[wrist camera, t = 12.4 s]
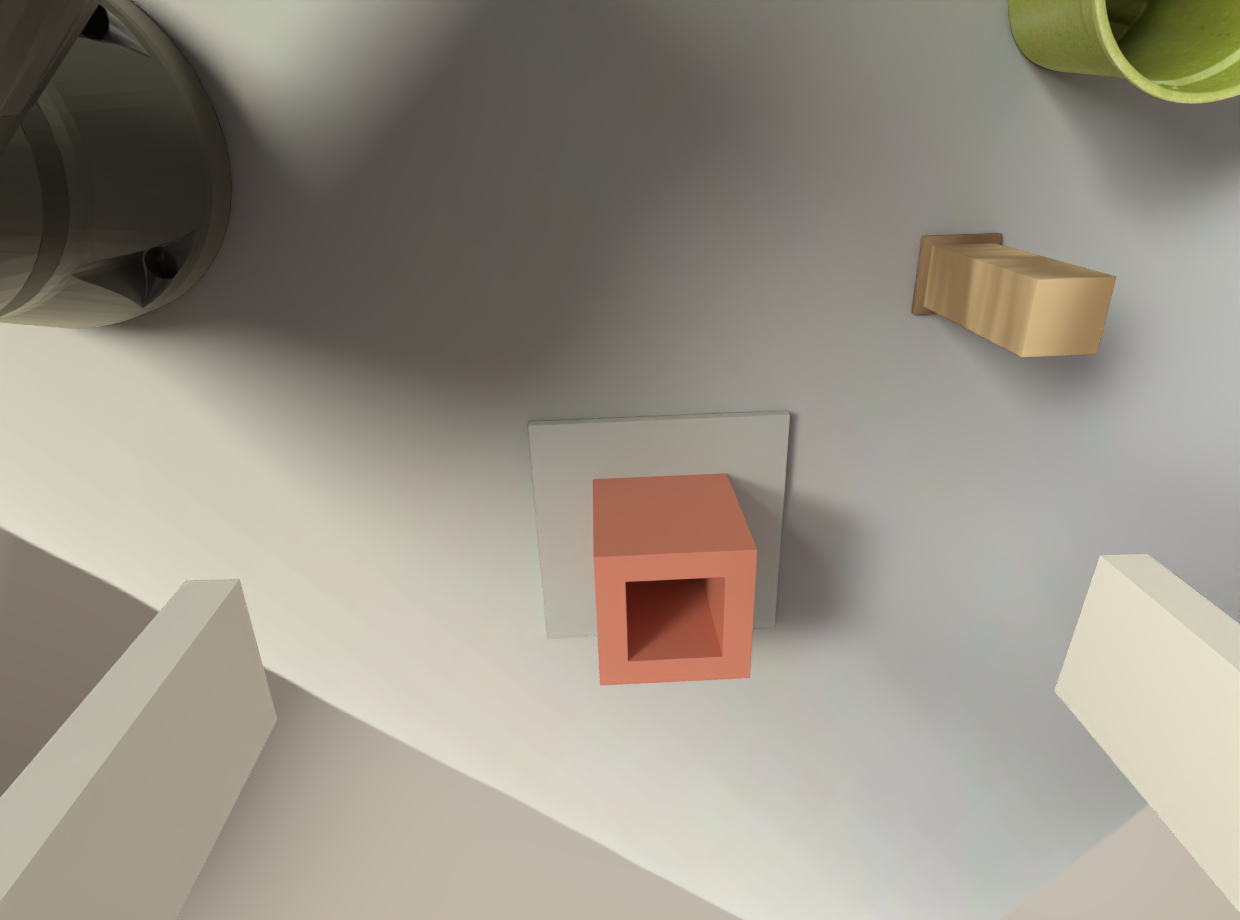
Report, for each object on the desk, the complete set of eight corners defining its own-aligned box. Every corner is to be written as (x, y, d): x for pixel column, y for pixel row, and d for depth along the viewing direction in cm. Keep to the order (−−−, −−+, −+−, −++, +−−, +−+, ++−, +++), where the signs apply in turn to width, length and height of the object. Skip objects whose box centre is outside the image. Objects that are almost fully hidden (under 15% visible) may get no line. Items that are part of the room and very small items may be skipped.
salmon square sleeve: (598, 591, 43) (600, 685, 35) (592, 479, 40) (593, 557, 32) (722, 585, 43) (749, 677, 36) (726, 473, 40) (757, 549, 32)
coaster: (547, 632, 44) (547, 638, 44) (528, 421, 39) (527, 425, 38) (772, 621, 45) (774, 627, 44) (787, 410, 39) (790, 414, 38)
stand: (911, 312, 37) (1009, 367, 28) (922, 236, 35) (1029, 269, 27) (984, 309, 37) (1104, 363, 28) (998, 233, 36) (1129, 265, 27)
